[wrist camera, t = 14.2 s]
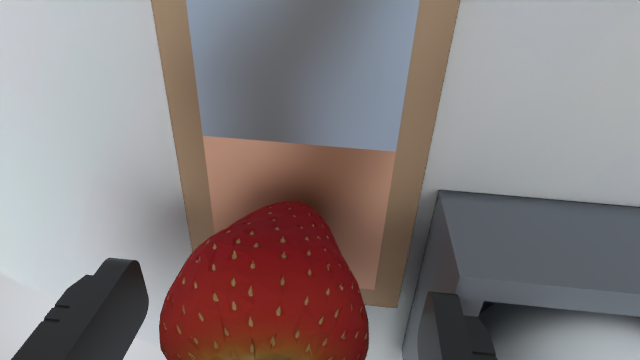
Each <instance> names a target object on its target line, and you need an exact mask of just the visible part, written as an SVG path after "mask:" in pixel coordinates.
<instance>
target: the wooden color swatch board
mask: <svg viewBox="0 0 640 360" xmlns="http://www.w3.org/2000/svg"><path fill="white" fill-rule="evenodd" d="M151 4H152V10H153V16H154V22H155V28H156V34H157V40H158V46H159V52H160V58H161V64H162V70H163V76H164V82H165V88H166V94H167V100H168V106H169V112H170V118H171V125H172V131H173V137H174V143H175V149H176V155H177V161H178V167H179V173H180V179H181V185H182V191H183V197H184V203H185V209H186V215H187V221H188V227H189V233H190V239H191V245H192V252H193V251H194V250H195V249H196V248H197V247H198V246H199V245H200V244H202V243H203V242H204V241H205V240H207V239H208V238H209V237H211V236H212V235H214V234H216V233H217V232H219V231H221V230H223V229H225V228H227V227H228V226H230V225H231V224H233V223H234V222H236V221H237V220H239V219H241V218H243V217H244V216H246V215H248V214H250V213H252V212H254V211H256V210H258V209H260V208H262V207H264V206H267V205H270V204H274V203H278V202H283V201H298V202H301V203H304V204H308V205H309V206H311V207H312V208H313V209H315V210H316V211H317V212H318V213H319V214H320V215H321V216H322V218H323V219H324V220H325V222H326V223H327V225H328V226H329V227H330V230H331V232H332V234H333V237H334V239H335V241H336V243H337V245H338V247H339V249H340V252H341V254H342V256H343V258H344V259H345V261H346V263H347V264H348V266H349V268H350V270H351V271H352V273H353V275H354V277H355V279H356V280H357V282H358V285H359V289H360V292H361V295H362V299H363V302H364V305H371V306H381V307H390V308H397V306H398V301H399V296H400V291H401V287H402V282H403V277H404V272H405V267H406V262H407V257H408V252H409V247H410V243H411V238H412V233H413V228H414V223H415V218H416V213H417V208H418V204H419V199H420V194H421V189H422V184H423V179H424V174H425V169H426V165H427V160H428V155H429V150H430V145H431V140H432V135H433V130H434V126H435V121H436V116H437V111H438V106H439V101H440V96H441V91H442V86H443V82H444V77H445V72H446V67H447V62H448V57H449V52H450V47H451V43H452V38H453V33H454V28H455V23H456V18H457V13H458V8H459V4H460V0H151Z"/></svg>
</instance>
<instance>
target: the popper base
mask: <svg viewBox="0 0 640 360" xmlns="http://www.w3.org/2000/svg"><path fill="white" fill-rule="evenodd" d="M429 291H433V292H443V293H452V294H457V295H458V296H459V298H460V302H461V307H462V311H463V315H465V316H475V317H478V316H479V315H480V314H481V313H482V312H484V311H485V310H486V309H488V308H489V307H491V306H492V305H494V304H495V303H497V302H498V303H508V304H518V305H528V306H538V307H547V308H557V309H567V310H577V311H587V312H597V313H606V314H616V315H626V316H636V317H640V207H629V206H617V205H606V204H594V203H583V202H571V201H560V200H548V199H537V198H525V197H514V196H502V195H491V194H479V193H467V192H456V191H444V190H439V191H438V196H437V200H436V204H435V208H434V213H433V217H432V221H431V226H430V230H429V234H428V239H427V243H426V247H425V252H424V256H423V260H422V264H421V269H420V273H419V277H418V282H417V286H416V290H415V295H414V299H413V303H412V308H411V312H410V316H409V320H408V325H407V329H406V333H405V338H404V342H403V346H402V358H403V360H419V359H418V349H417V337H418V328H419V324H420V320H421V316H422V312H423V308H424V304H425V300H426V296H427V293H428V292H429Z"/></svg>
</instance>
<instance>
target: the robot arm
mask: <svg viewBox="0 0 640 360" xmlns="http://www.w3.org/2000/svg"><path fill="white" fill-rule="evenodd" d="M148 305H149V298H148V294H147V290H146V286H145V282H144V278H143V275H142V271H141V267H140V264H139V262H138V261H136V260H127V259H117V258H108V259H106V260H105V261H104V262H103V263H102V265H101V266H100V267H99V269H98V270H97V271H96V273H95V274H94V275H93V276H92V275H85V276H84V277H83V278H81V279H80V280H79V281H77V282H76V283H74V284H73V285H72V286H70V287H69V288H68V289H67V290H66V291H65V292H64V294H63V295H62V296H61V297H60V299H59V300H58V301H57V303H56V304H55V307H54V308H52V309H51V310H50V311H49V313H48V314H47V315H46V316H45V318H44V321H43V322H41V323H40V324H39V325H38V327H37V328H36V329H35V330H34V332H33V333H32V334H31V335H30V337H29V338H28V339H27V340H26V342H25V343H24V344H23V345H22V347H21V348H20V349H19V350H18V352H17V353H16V354H15V355H14V357H13V358H12V359H11V360H123V358H124V356H125V354H126V352H127V351H128V349H129V347H130V345H131V343H132V342H133V340H134V338H135V336H136V334H137V332H138V331H139V329H140V327H141V325H142V323H143V321H144V319H145V317H146V314H147V311H148ZM417 349H418V359H419V360H498V359H497V358H496V352H495V349H494V345H493V341H492V338H491V334H490V333H489V332H488V330H487V329H486V328H485V326H484V325H483V323H482V322H481V321H480V319H479V318H478V317H475V316H465V315H463V311H462V307H461V302H460V298H459V296H458V295H457V294H452V293H443V292H433V291H429V292H428V293H427V296H426V300H425V304H424V308H423V312H422V316H421V320H420V324H419V328H418V337H417Z"/></svg>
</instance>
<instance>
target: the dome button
mask: <svg viewBox="0 0 640 360" xmlns="http://www.w3.org/2000/svg"><path fill="white" fill-rule="evenodd" d="M478 318H479V319H480V321H481V322H482V323H483V325H484V326H485V328H486V329H487V330H488V332H489V333H490V334H491V338H492V341H493V345H494V349H495V352H496V358H497V359H498V360H640V317H636V316H626V315H616V314H606V313H597V312H587V311H577V310H567V309H557V308H547V307H538V306H528V305H518V304H508V303H498V302H497V303H495V304H494V305H492V306H491V307H489V308H488V309H486V310H485V311H484V312H482V313H481V314H480V315H479V316H478Z"/></svg>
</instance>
